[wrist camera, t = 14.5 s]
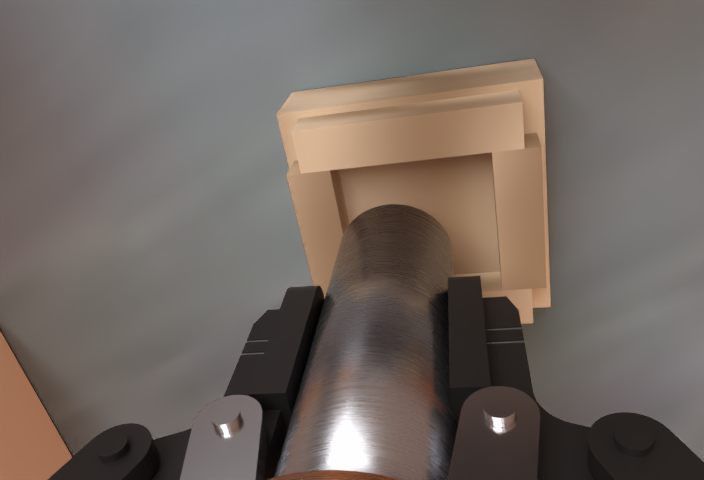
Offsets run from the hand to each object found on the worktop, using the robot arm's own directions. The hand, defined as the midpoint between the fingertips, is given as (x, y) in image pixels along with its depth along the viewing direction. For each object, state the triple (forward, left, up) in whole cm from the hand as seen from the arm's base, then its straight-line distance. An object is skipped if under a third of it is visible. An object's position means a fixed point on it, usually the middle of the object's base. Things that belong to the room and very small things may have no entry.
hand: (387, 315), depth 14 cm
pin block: (+1, 0, -6) cm, 6 cm away
